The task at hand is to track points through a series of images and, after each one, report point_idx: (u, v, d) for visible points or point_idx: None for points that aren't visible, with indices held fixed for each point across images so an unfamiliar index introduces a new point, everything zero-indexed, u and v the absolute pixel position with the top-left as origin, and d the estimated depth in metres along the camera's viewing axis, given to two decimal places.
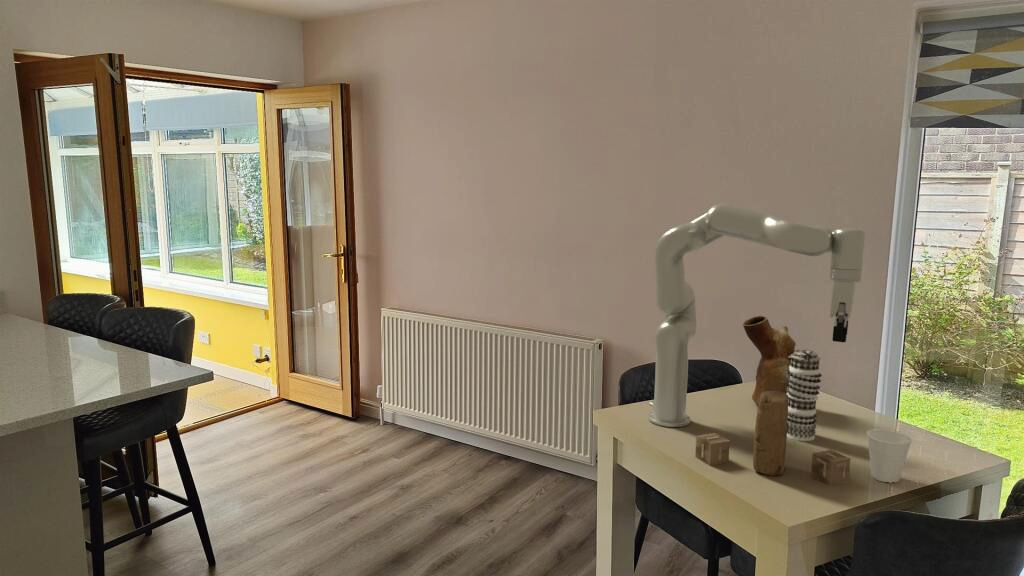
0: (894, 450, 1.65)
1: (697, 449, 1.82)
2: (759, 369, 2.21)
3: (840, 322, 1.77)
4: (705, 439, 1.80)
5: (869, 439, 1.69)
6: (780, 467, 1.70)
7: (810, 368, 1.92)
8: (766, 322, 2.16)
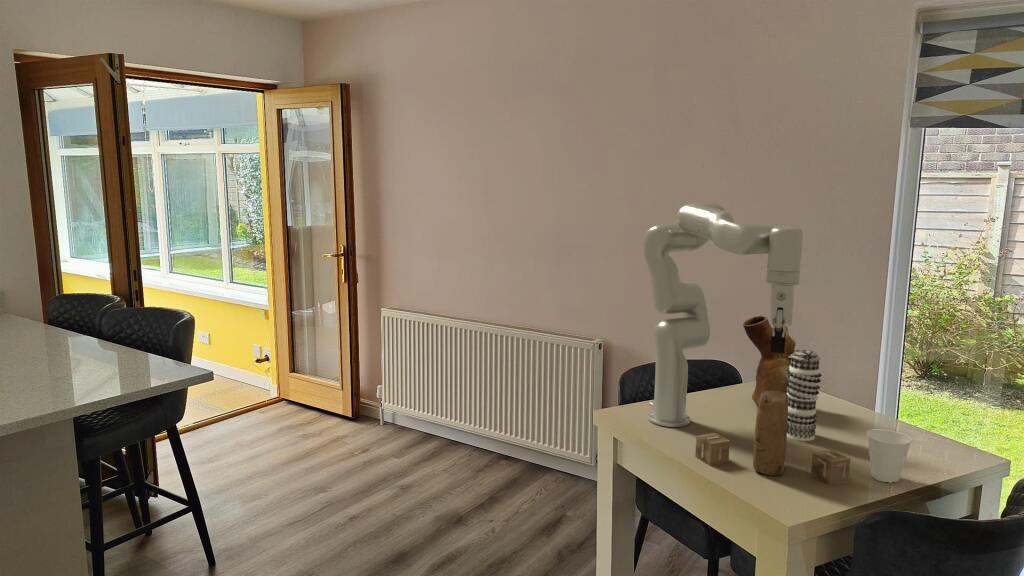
0: (894, 450, 1.65)
1: (697, 449, 1.82)
2: (759, 369, 2.21)
3: None
4: (705, 439, 1.79)
5: (869, 439, 1.69)
6: (780, 467, 1.70)
7: (810, 368, 1.92)
8: (766, 322, 2.16)
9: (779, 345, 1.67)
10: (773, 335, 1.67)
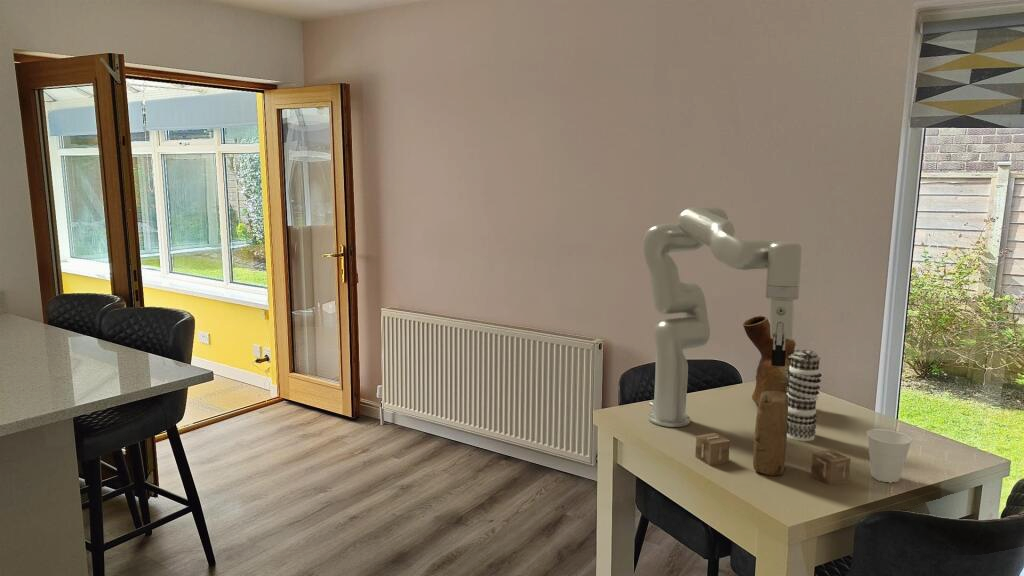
0: (894, 450, 1.65)
1: (697, 449, 1.82)
2: (759, 369, 2.21)
3: None
4: (705, 439, 1.80)
5: (869, 439, 1.69)
6: (780, 467, 1.70)
7: (810, 368, 1.92)
8: (766, 322, 2.16)
9: (780, 358, 1.69)
10: (774, 348, 1.69)
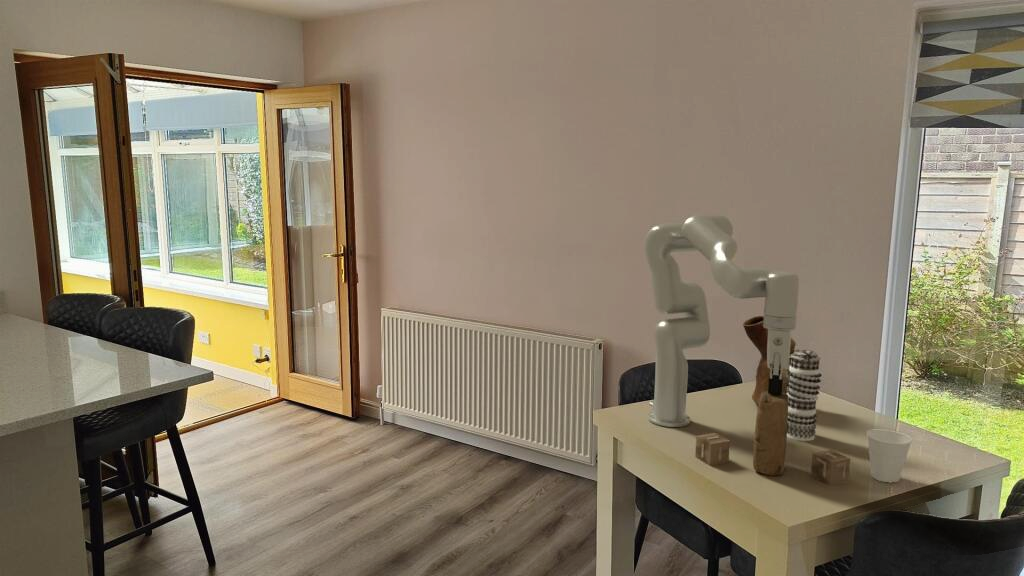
0: (894, 450, 1.65)
1: (697, 449, 1.82)
2: (759, 369, 2.21)
3: None
4: (705, 439, 1.80)
5: (869, 439, 1.69)
6: (780, 467, 1.70)
7: (810, 368, 1.92)
8: None
9: (776, 387, 1.71)
10: (771, 377, 1.71)
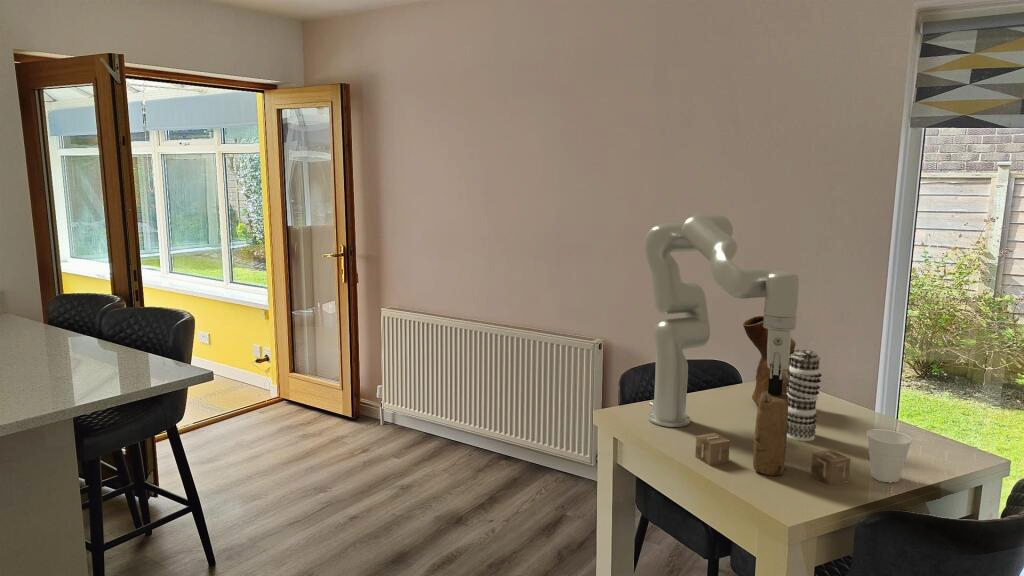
0: (894, 450, 1.65)
1: (697, 449, 1.82)
2: (759, 369, 2.21)
3: None
4: (705, 439, 1.80)
5: (869, 439, 1.69)
6: (780, 467, 1.70)
7: (810, 368, 1.92)
8: None
9: (776, 387, 1.71)
10: (771, 377, 1.71)
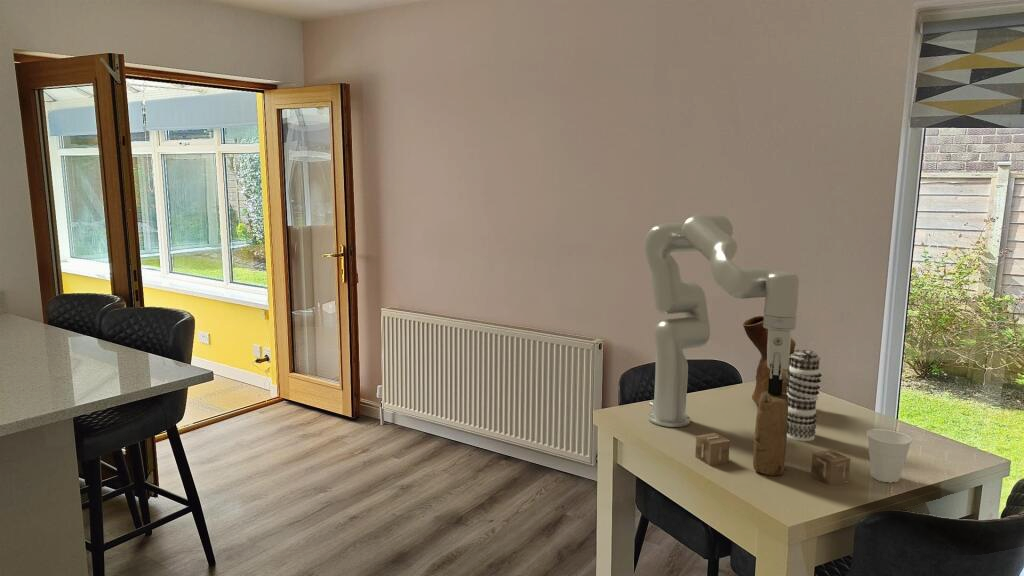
0: (894, 450, 1.65)
1: (697, 449, 1.82)
2: (759, 369, 2.21)
3: None
4: (705, 439, 1.80)
5: (869, 439, 1.69)
6: (780, 467, 1.70)
7: (810, 368, 1.92)
8: None
9: (776, 387, 1.71)
10: (770, 377, 1.71)
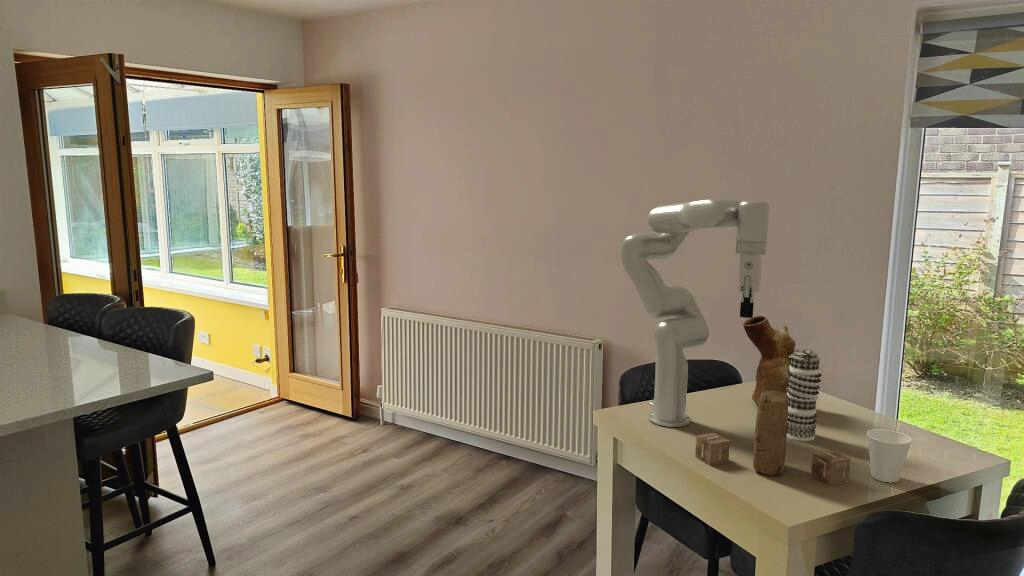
0: (894, 450, 1.65)
1: (697, 449, 1.82)
2: (759, 369, 2.21)
3: None
4: (705, 439, 1.80)
5: (869, 439, 1.69)
6: (780, 467, 1.70)
7: (810, 368, 1.92)
8: (766, 322, 2.16)
9: (748, 310, 1.80)
10: (742, 301, 1.80)
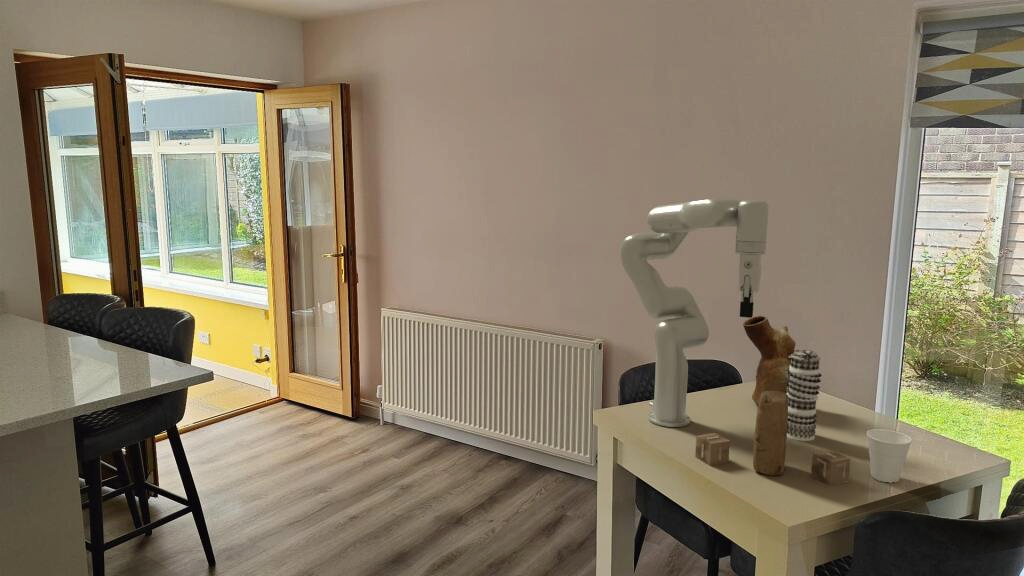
0: (894, 450, 1.65)
1: (697, 449, 1.82)
2: (759, 369, 2.21)
3: None
4: (705, 439, 1.80)
5: (869, 439, 1.69)
6: (780, 467, 1.70)
7: (810, 368, 1.92)
8: (766, 322, 2.16)
9: (747, 310, 1.80)
10: (742, 301, 1.80)
